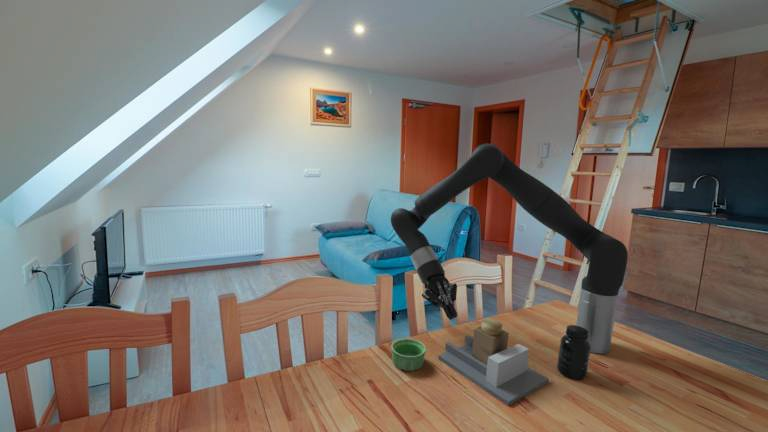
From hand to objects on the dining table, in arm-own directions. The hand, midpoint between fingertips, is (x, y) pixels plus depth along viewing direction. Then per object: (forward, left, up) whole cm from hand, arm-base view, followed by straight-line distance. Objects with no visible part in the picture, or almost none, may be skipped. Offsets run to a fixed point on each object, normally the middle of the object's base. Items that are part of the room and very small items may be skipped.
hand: (453, 318), depth 102 cm
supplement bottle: (-17, +26, -9) cm, 32 cm away
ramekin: (+16, 0, -9) cm, 18 cm away
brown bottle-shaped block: (0, +13, -7) cm, 15 cm away
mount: (0, +13, -9) cm, 16 cm away
